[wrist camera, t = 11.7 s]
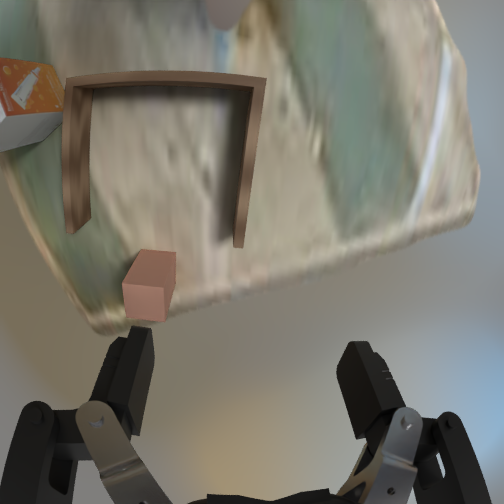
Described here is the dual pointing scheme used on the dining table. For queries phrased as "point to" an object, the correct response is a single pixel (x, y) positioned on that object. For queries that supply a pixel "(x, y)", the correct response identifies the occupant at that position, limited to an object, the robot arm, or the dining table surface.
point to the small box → (28, 102)
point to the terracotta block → (150, 285)
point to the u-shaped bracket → (82, 86)
